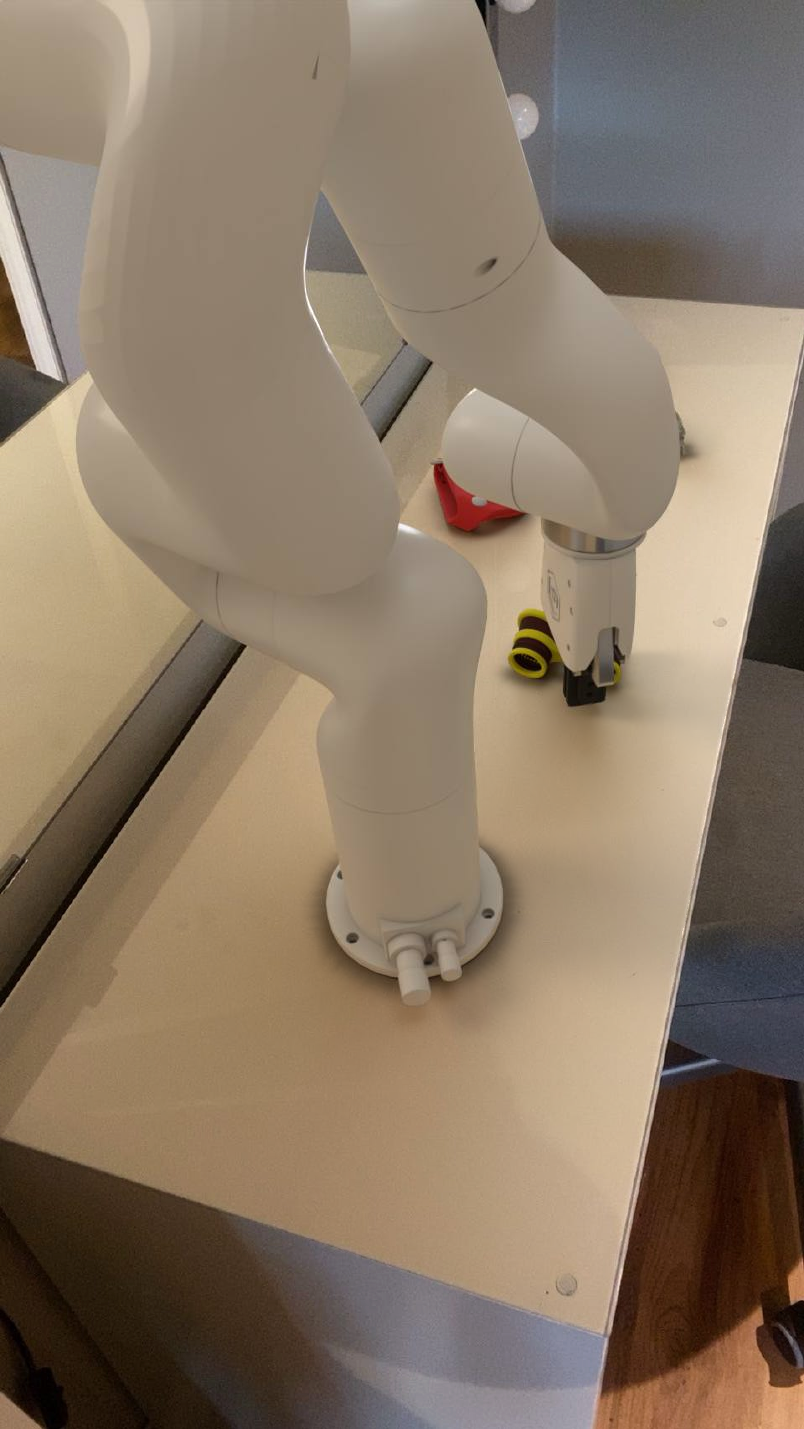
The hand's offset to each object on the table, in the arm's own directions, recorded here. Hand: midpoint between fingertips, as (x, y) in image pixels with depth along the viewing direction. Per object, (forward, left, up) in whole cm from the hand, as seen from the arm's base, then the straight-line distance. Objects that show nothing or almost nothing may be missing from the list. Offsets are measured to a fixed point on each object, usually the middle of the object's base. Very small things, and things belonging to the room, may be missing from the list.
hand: (583, 697), depth 87 cm
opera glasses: (+5, 0, -1) cm, 5 cm away
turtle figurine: (+41, -19, -1) cm, 45 cm away
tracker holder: (+33, +2, -1) cm, 33 cm away
